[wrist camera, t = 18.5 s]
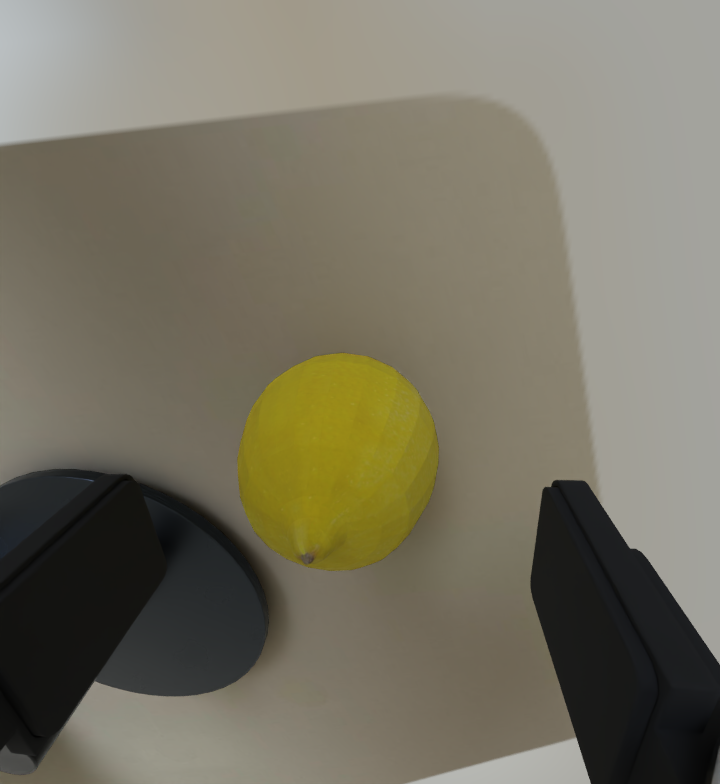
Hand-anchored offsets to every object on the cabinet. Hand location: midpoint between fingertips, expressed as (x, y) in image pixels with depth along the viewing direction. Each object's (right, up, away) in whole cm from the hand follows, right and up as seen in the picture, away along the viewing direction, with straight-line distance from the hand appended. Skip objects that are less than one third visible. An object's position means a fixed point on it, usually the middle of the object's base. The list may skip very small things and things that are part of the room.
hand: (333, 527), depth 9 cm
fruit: (0, +3, +6) cm, 7 cm away
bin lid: (-12, -7, +11) cm, 18 cm away
